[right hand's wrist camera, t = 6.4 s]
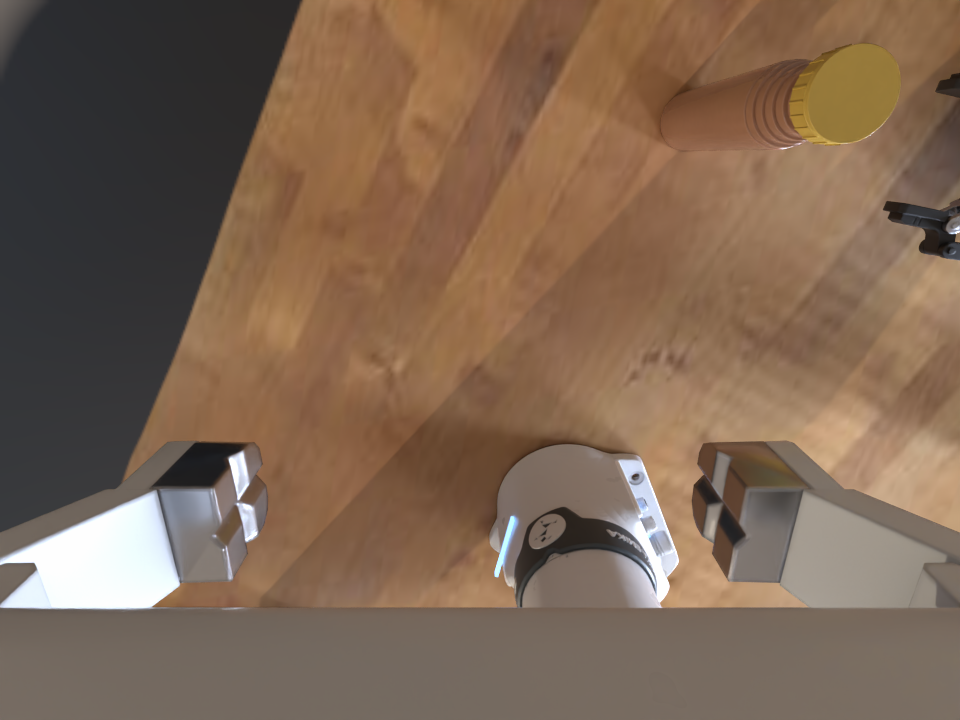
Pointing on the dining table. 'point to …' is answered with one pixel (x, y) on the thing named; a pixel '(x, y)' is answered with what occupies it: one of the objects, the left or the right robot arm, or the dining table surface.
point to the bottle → (736, 112)
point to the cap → (845, 94)
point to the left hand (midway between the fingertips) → (917, 148)
